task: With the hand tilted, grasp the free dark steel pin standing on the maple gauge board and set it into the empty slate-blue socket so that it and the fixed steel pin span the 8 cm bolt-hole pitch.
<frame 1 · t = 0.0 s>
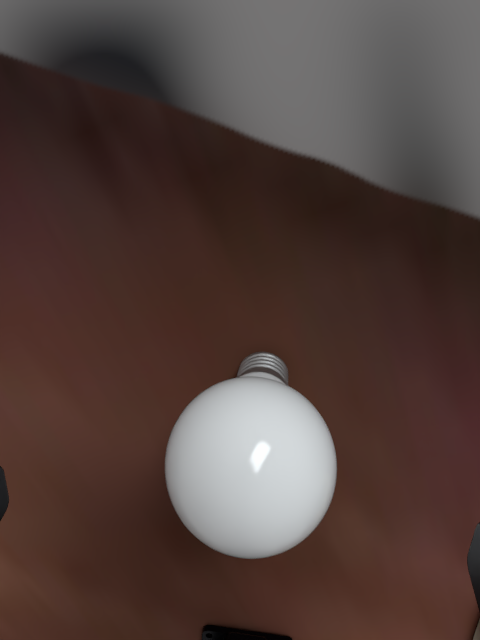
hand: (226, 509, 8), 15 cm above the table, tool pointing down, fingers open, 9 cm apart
lightbulb: (264, 367, 23), on the table
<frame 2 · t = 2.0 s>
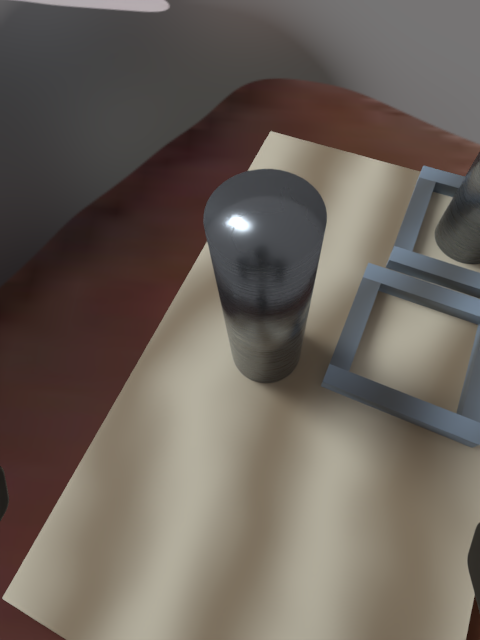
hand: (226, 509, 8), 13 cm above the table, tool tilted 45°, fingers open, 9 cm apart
fixed pin: (466, 237, 24), resting on gauge board
pin: (265, 350, 22), point 1 cm above the table, touching gauge board
gauge board: (317, 378, 23), on the table
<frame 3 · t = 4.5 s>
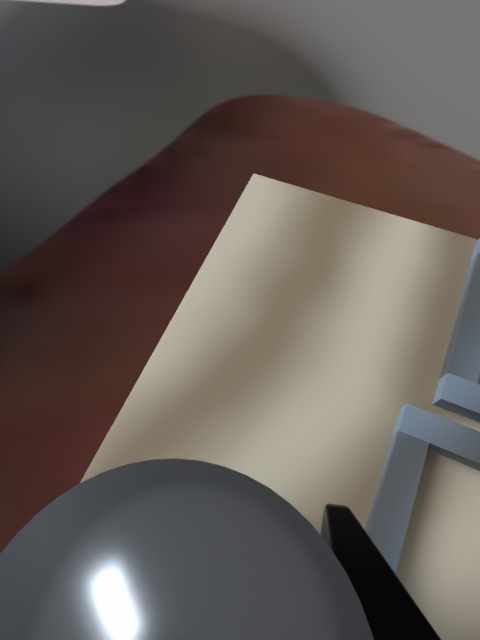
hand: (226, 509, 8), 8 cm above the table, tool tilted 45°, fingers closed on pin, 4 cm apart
pin: (239, 560, 13), point 1 cm above the table, touching gauge board, gripper
gauge board: (325, 601, 14), on the table
when the fingers open (9 cm above the table, at t = 6.8 s): pin drops 1 cm, resting on gauge board.
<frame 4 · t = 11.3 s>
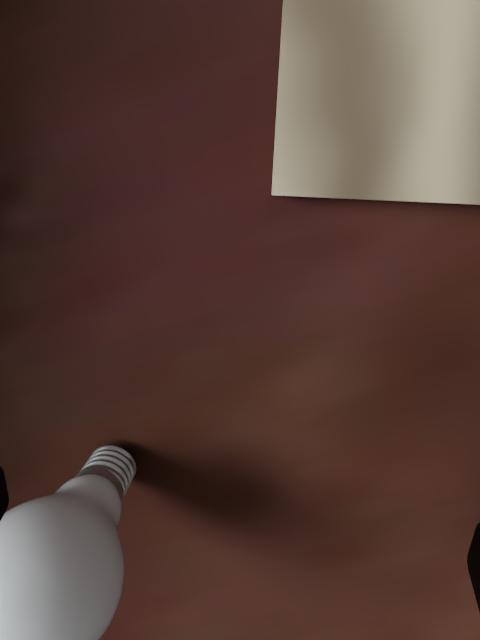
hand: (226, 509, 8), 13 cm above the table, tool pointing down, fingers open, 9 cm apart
lightbulb: (119, 455, 24), on the table
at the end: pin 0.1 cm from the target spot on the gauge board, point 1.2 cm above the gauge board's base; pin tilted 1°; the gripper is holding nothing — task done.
